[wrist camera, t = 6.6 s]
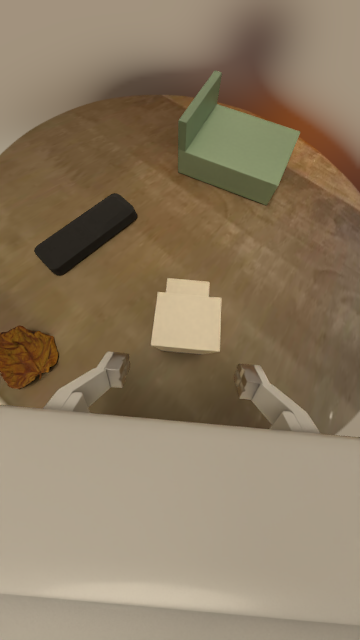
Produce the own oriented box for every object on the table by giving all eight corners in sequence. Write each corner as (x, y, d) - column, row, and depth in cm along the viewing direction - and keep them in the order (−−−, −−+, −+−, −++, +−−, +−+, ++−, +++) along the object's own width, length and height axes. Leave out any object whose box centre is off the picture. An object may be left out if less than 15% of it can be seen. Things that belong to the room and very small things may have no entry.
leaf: (7, 395, 18) (-7, 400, 16) (-10, 341, 19) (-25, 340, 17) (67, 370, 19) (59, 372, 18) (49, 320, 20) (39, 318, 18)
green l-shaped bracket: (287, 154, 28) (316, 102, 22) (266, 205, 25) (293, 159, 19) (207, 127, 29) (214, 70, 24) (178, 172, 27) (178, 120, 21)
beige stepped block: (201, 354, 19) (221, 352, 11) (161, 350, 19) (148, 345, 11) (204, 295, 21) (224, 251, 13) (168, 291, 21) (162, 245, 13)
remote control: (61, 280, 22) (140, 216, 24) (51, 273, 20) (136, 205, 22) (41, 258, 23) (119, 198, 25) (29, 250, 21) (114, 186, 23)
